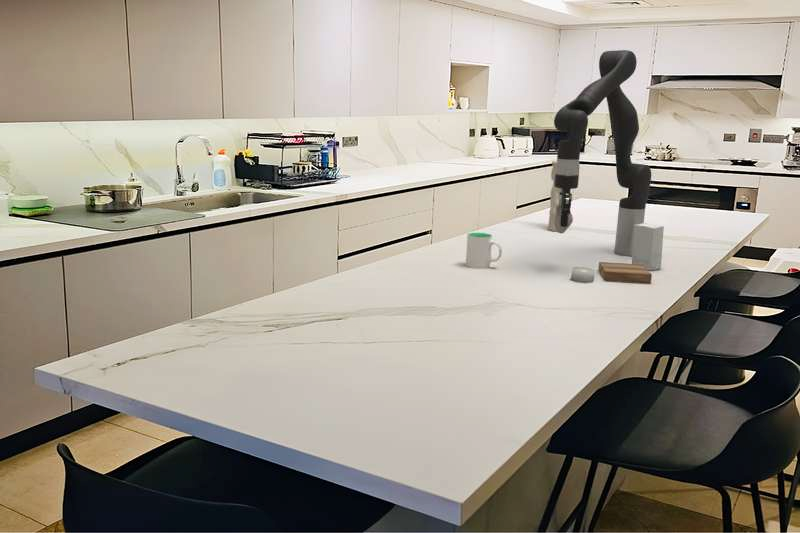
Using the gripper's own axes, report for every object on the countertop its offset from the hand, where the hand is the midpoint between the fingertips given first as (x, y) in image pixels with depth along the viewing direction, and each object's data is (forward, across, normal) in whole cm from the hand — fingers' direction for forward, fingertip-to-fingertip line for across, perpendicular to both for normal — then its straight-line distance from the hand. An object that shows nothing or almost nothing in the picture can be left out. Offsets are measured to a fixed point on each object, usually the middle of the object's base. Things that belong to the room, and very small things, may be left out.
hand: (563, 225), depth 242 cm
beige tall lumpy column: (+16, -73, +6) cm, 75 cm away
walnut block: (+15, +6, +20) cm, 26 cm away
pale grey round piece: (+15, +13, +6) cm, 21 cm away
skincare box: (+16, -10, +30) cm, 35 cm away
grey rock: (+3, 0, 0) cm, 3 cm away
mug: (+15, +2, -25) cm, 29 cm away
